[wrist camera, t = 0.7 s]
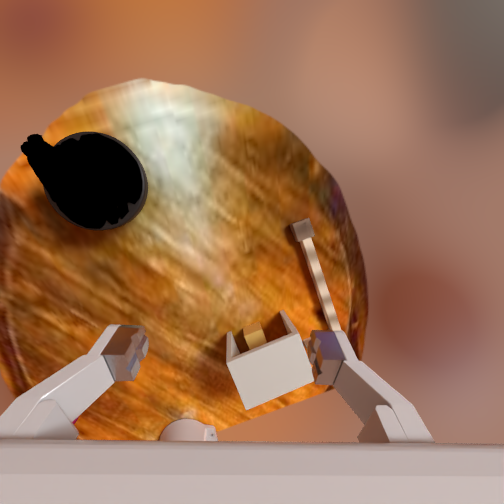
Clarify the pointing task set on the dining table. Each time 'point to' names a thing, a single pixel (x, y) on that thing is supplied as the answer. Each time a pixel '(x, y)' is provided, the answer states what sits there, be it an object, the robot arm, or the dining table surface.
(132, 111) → the dining table surface
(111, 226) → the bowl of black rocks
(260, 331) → the ochre cube
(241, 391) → the cubby
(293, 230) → the pale grey hook
